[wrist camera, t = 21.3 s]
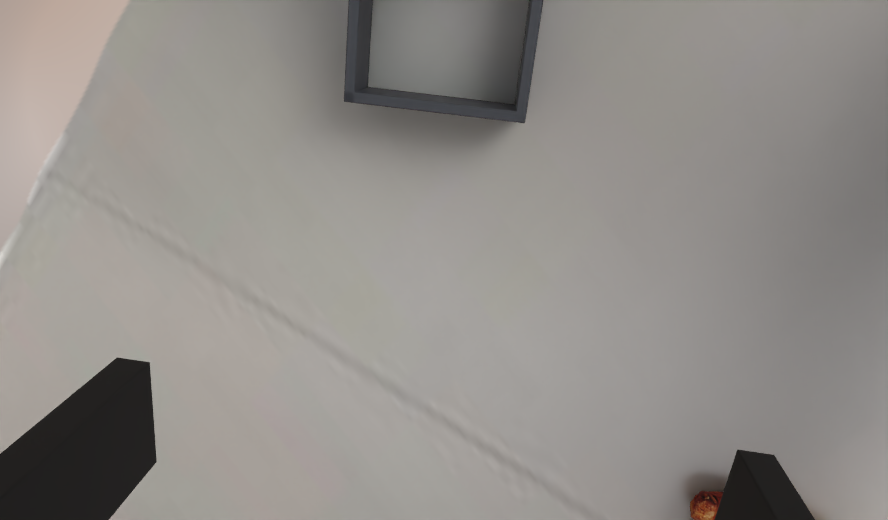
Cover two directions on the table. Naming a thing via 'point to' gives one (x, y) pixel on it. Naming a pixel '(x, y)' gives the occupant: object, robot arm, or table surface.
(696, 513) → the croissant
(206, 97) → the table surface
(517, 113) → the rectangular tray
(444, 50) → the table surface
